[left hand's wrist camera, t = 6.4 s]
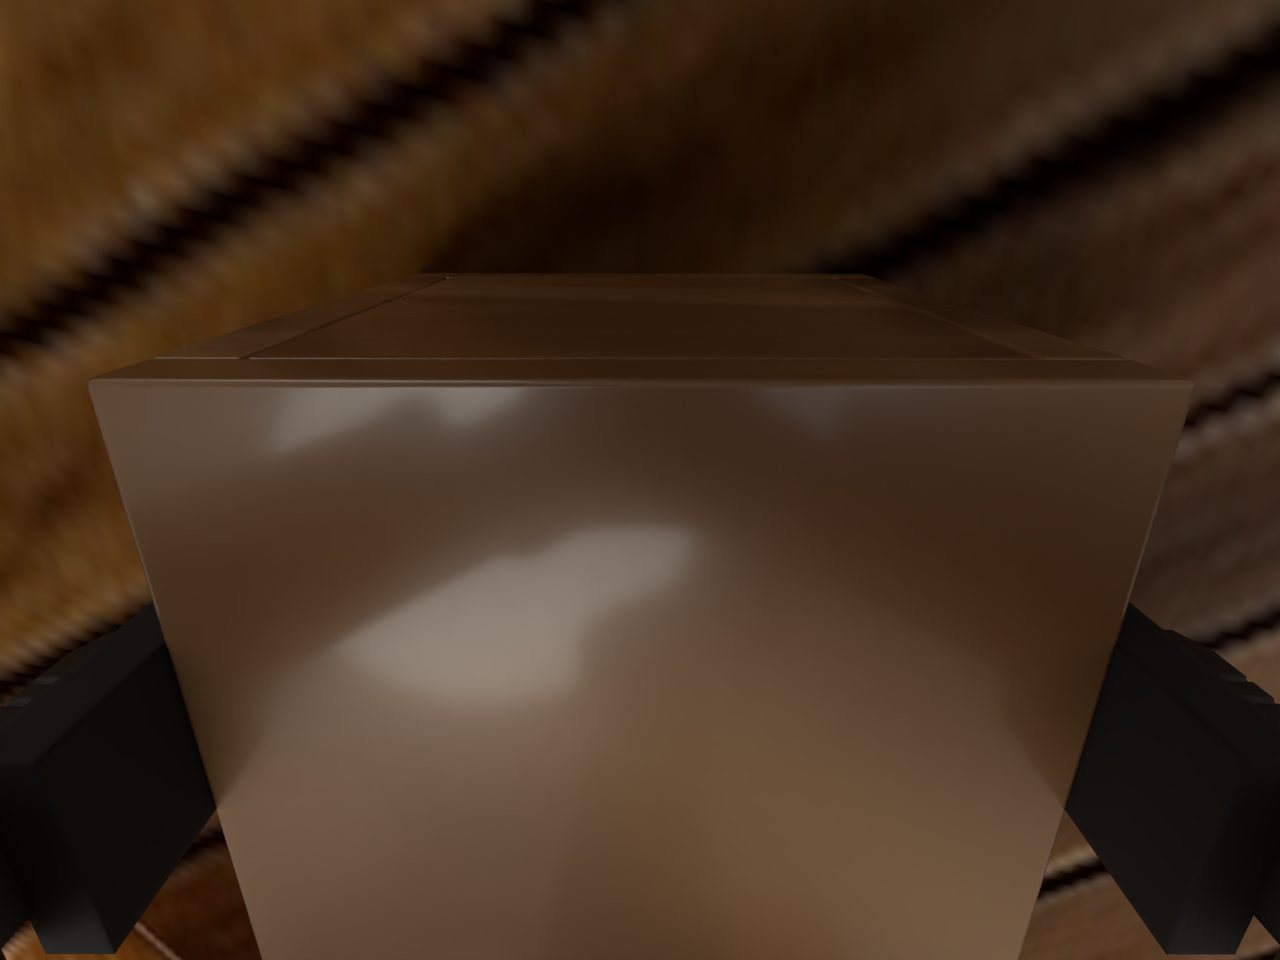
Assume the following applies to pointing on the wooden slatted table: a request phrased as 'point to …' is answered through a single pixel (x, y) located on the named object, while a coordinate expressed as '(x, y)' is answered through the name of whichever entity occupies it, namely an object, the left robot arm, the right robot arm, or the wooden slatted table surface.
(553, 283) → the cabinet
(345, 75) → the wooden slatted table surface
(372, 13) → the wooden slatted table surface
